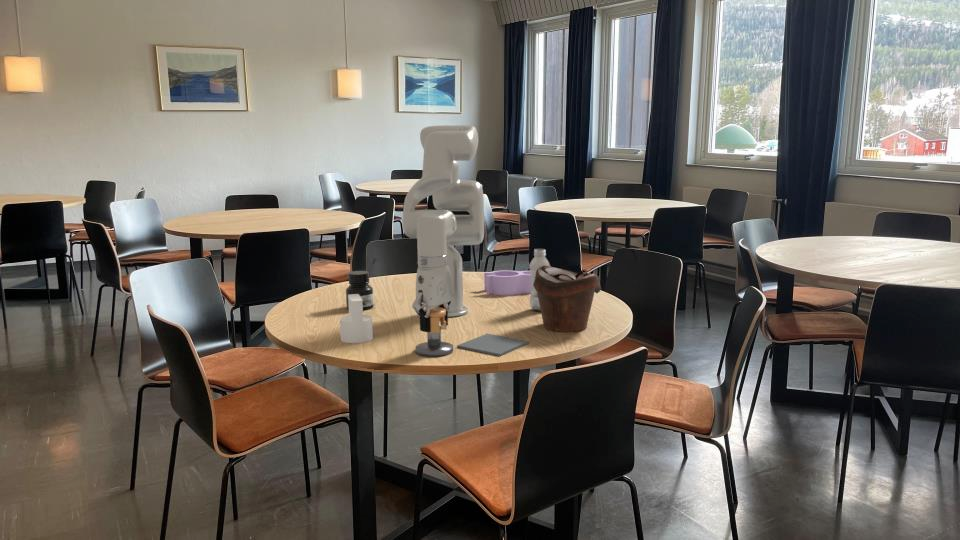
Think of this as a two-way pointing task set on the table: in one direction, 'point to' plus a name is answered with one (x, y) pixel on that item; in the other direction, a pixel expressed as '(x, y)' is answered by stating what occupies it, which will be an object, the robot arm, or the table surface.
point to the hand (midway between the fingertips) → (434, 327)
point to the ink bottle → (360, 288)
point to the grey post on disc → (434, 346)
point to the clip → (507, 282)
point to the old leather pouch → (565, 297)
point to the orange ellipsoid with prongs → (437, 319)
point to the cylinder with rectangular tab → (356, 322)
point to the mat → (493, 344)
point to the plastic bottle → (534, 265)
